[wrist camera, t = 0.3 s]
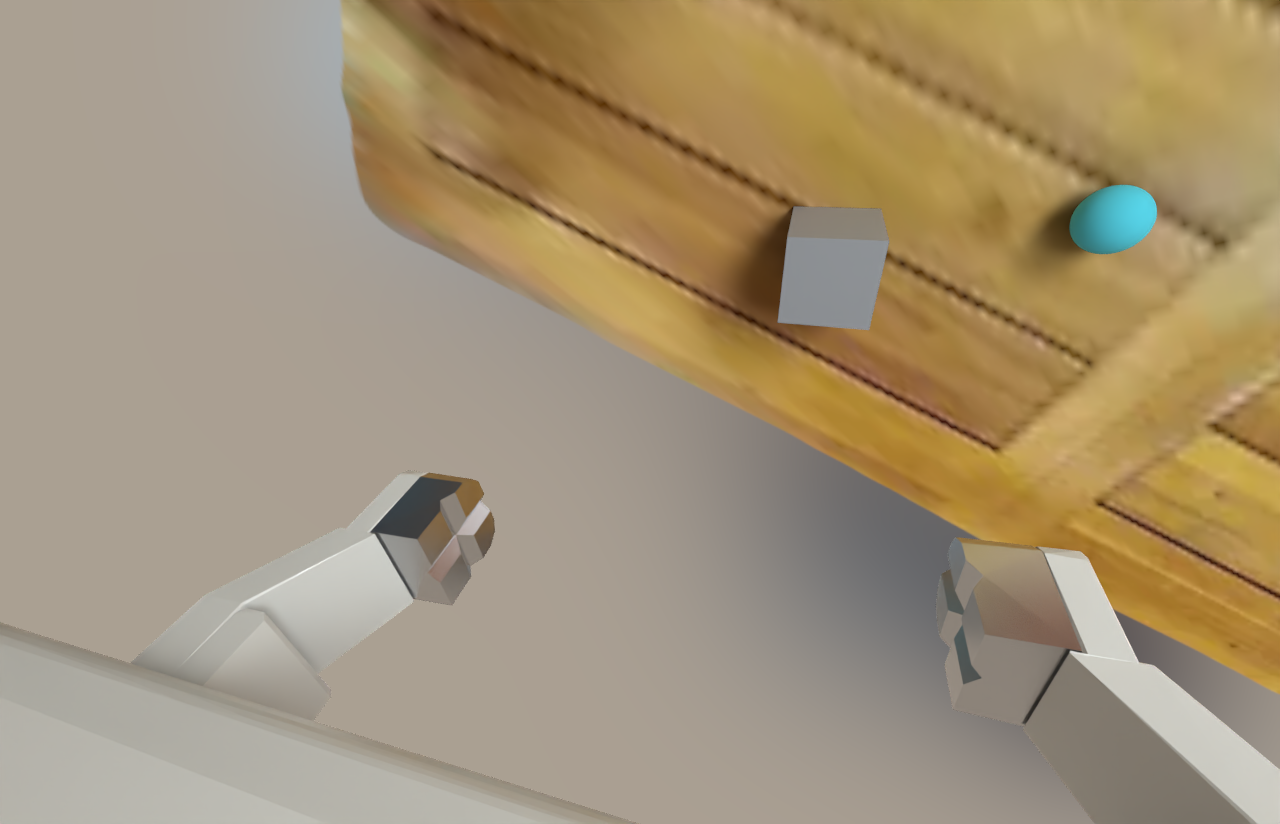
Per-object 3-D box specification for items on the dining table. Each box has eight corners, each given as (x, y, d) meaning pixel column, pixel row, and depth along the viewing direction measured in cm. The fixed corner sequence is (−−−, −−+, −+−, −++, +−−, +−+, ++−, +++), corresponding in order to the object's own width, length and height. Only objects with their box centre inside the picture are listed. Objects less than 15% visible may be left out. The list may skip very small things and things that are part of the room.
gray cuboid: (793, 206, 49) (787, 236, 42) (880, 208, 47) (889, 241, 40) (784, 283, 53) (777, 322, 46) (864, 288, 51) (868, 329, 44)
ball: (1075, 177, 42) (1100, 193, 38) (1152, 178, 40) (1186, 195, 36) (1050, 240, 44) (1070, 261, 41) (1120, 243, 43) (1148, 265, 39)
